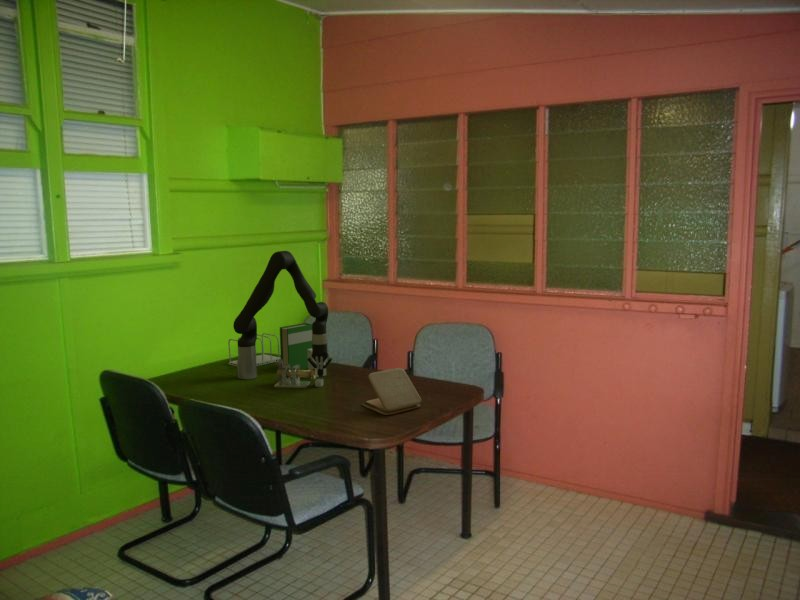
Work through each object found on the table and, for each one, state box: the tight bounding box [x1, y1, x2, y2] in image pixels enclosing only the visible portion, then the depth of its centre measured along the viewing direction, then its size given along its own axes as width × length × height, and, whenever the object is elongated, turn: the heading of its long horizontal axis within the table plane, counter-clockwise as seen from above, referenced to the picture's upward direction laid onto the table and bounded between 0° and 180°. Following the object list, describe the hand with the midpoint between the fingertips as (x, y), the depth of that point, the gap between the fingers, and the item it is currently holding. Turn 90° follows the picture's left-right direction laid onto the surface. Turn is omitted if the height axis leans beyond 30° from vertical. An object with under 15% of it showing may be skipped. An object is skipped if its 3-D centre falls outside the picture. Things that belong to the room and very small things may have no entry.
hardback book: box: [279, 322, 313, 370], centre depth 363 cm, size 18×7×24 cm, turn 136°
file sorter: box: [227, 332, 281, 368], centre depth 377 cm, size 25×17×16 cm
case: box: [362, 367, 422, 416], centre depth 290 cm, size 20×21×16 cm
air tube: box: [276, 368, 317, 381], centre depth 328 cm, size 19×6×6 cm, turn 83°
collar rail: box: [273, 359, 324, 389], centre depth 328 cm, size 24×10×12 cm, turn 83°
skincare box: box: [307, 348, 327, 378], centre depth 346 cm, size 8×6×15 cm
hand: (320, 376), depth 326 cm, fingers closed
